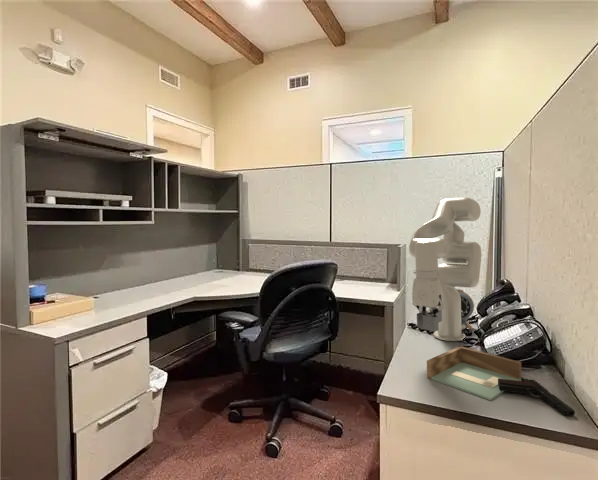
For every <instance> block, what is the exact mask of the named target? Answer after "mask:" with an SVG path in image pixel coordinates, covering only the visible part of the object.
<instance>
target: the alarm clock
mask: <svg viewBox="0 0 598 480" xmlns="http://www.w3.org/2000/svg"><path fill="white" fill-rule="evenodd" d="M456 290H457V291H458V292H459V294H460V297H461V325H462V324H464V325H465V328H469V329H473V330H474V328H473V326H472V325H470V324H471V323H470V322H468V321H467V319H469V318H470V317H471V316H472V315H473V313H474V310H475V303H474V300H473V299H472V297H471V296H470V295H469V294H468V293H466V292H465V291H464V290H463V289H460V288H456ZM469 323H470V324H469Z"/></svg>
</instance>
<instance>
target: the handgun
mask: <svg viewBox="0 0 598 480" xmlns="http://www.w3.org/2000/svg"><path fill="white" fill-rule="evenodd" d="M498 386H499V389H500V390H502V391H504V392H512V393H517V394H518V393H519V394H526V395H529V396H530V397H532V398H533V399H537V400H543V402H546V403H547V404H549V405H550V406H552V407H553V408H555V410H558V411H559V412H560V413H561V414H563V415H564V416H568V417H574V416H575V415H576V411H575V410H574V408H572V407H571V406H569V405H568V404H567V403H565V402H564V401H563V400H561V399H560V398H559V397H557V396H556V395H555V394H553V393H551V392H550V391H549V390H548V389H547V388H546V387H544V385H542V384H541V383H540V382H538V381H537V380H535V379H529V378H524V377H523V376H522V377H521V380H520V381H516V380H507V379H498Z"/></svg>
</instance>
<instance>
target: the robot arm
mask: <svg viewBox="0 0 598 480" xmlns="http://www.w3.org/2000/svg"><path fill="white" fill-rule="evenodd" d="M481 212H482V211H481V205H479V203H478V202H477V200H475V199H473V198H471V197H452V198H451V197H450V198H443V199H441V200H440V201H438V202H437V204H436V207H435V209H434V212H433V213H432V214H433V215H432V217H431V220H429V221H427V222H425V223H423V224H422V225H421V226H419V227H418V228H417V229H416V230H415V231H414V233H413V234H412V237H411V239H410V243H409V245H408V250H409V254H410V255H411V256H412V257H413V258H415V270H414V271H413V274H414V275H415V277H414V279H413V281H412V290H411V291H412V292H411V295H412V296H411V301H412V305H413V306H414V307H415V308H416V309H417V310H418V313H421V312H423V311H426V310H427V308H428V309H430V315H435V316H436V314H437V313H438V312H439V311H442V321H441V322H439V323H438V325H439V330H438V331H436V332H433V337H435V339H437V340H441V341H446V342H461V341H464V340H465V339H466V338H465V337H466V334H465V333H464V332H463V331H462V330H464V329H465V325H464V324H462V325H461V297H460V294H459V292H458V291H457V290H456V289H457V288H476V287H477V286H478V284H479V282H480V281H479V280H480V275H481V274H480V272H481V267H482V266H481V265H482V247H481V245H480V244H479V243H478V242H476V241H465V231H464V230H463V229H462V227H460V226H459V225H458V224H457V223H456V222H475V221H477V220H478V219H479V218H480V217H481ZM441 236H443V238H437V237H441ZM438 259H441V261H443V262H445V263H441V264H438V262H439V261H438ZM456 287H457V288H456ZM437 307H438V308H437ZM464 338H465V339H464ZM463 339H464V340H463Z"/></svg>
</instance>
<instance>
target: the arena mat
mask: <svg viewBox="0 0 598 480" xmlns="http://www.w3.org/2000/svg"><path fill="white" fill-rule="evenodd" d="M427 377H428V378H427ZM426 378H427V379H430V380H433V381H436V382H438V383H441V384H443V385H447V386H449V387H451V388H454V389H458V390H461V391H463V392H466V393H469V394H471V395H474V396H477V397H479V398H483V399H485V400H488V401H493V400H494V399H495V398H497V397H498V396H500V395H502V394H503V393H505V391H502V390H500V389H499V386H498V379H507V380H516V381H521V379H517V378H514V377H510V376H507V375H503V374H500V373H497V372H493V371H490V370H487V369H483V368H480V367H477V366H473V365H470V364H466V363H463V362H461V363H459V364H457V365H455V366H453V367H451V368H449V369H447V370H445V371H443V372H441V373H439V374H437V375H435V376H433V377H429V376H427V375H426Z"/></svg>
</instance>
